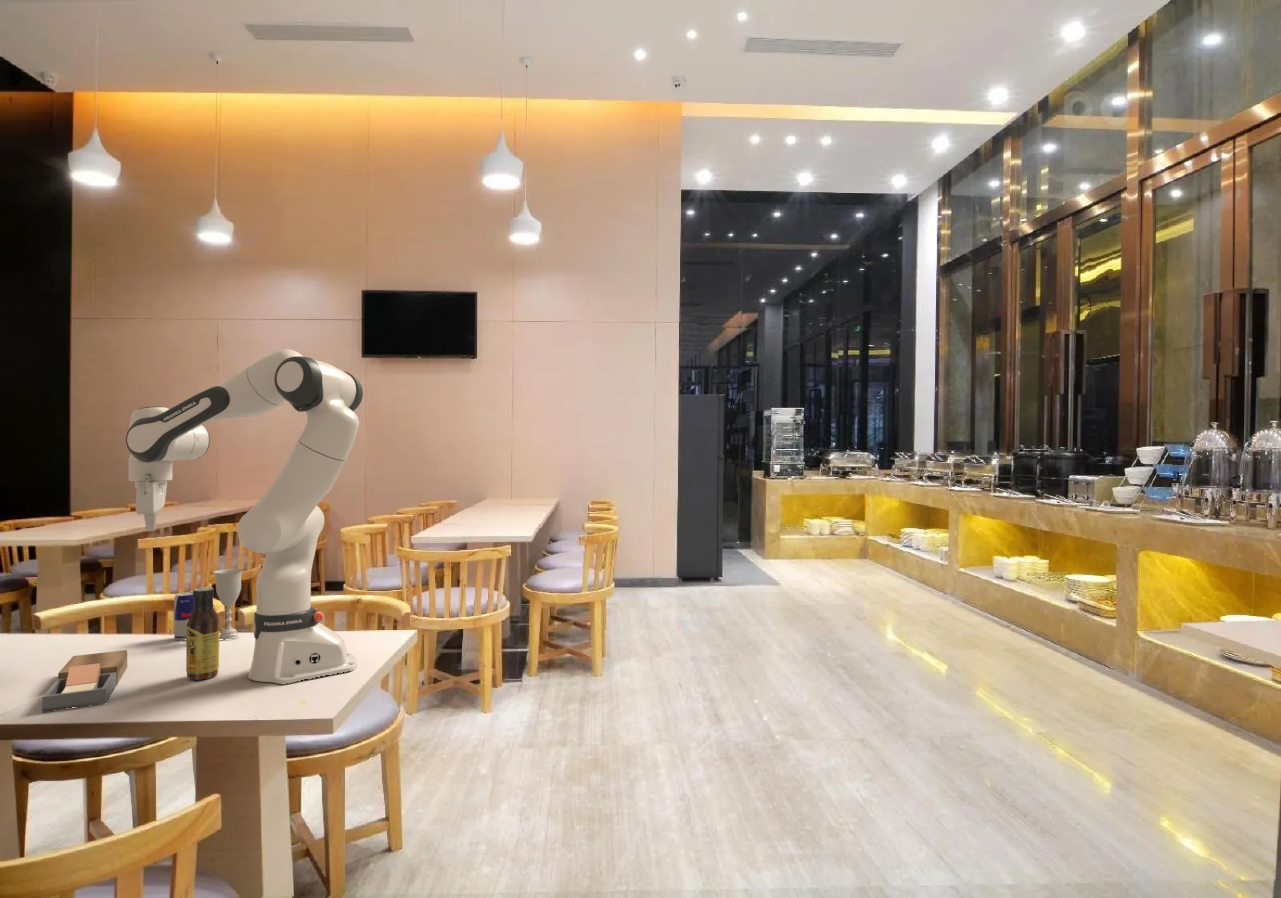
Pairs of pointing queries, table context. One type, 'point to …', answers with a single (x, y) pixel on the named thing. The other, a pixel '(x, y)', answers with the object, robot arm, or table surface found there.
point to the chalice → (228, 596)
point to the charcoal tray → (78, 694)
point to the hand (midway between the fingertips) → (150, 530)
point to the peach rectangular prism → (83, 674)
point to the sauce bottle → (202, 637)
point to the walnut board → (107, 661)
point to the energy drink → (182, 614)
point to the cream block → (80, 687)
